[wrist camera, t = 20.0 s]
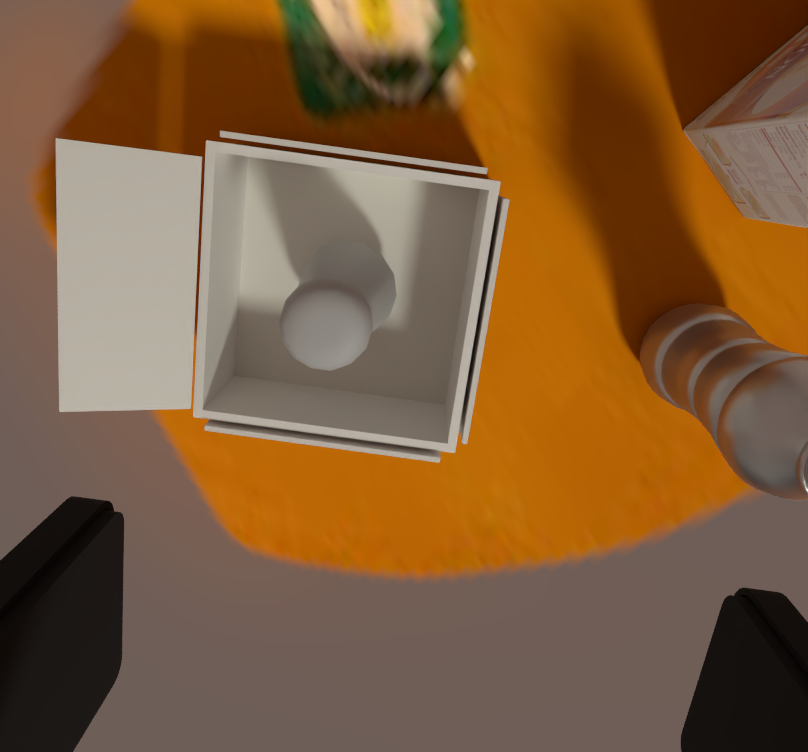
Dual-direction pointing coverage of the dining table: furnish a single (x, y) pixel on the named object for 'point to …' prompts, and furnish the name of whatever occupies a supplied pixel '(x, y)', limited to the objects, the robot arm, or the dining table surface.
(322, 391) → the carton
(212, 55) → the dining table surface
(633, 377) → the dining table surface
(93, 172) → the flap
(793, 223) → the coffeecake box
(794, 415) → the plastic bottle
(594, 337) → the dining table surface
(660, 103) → the dining table surface
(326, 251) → the salt shaker
